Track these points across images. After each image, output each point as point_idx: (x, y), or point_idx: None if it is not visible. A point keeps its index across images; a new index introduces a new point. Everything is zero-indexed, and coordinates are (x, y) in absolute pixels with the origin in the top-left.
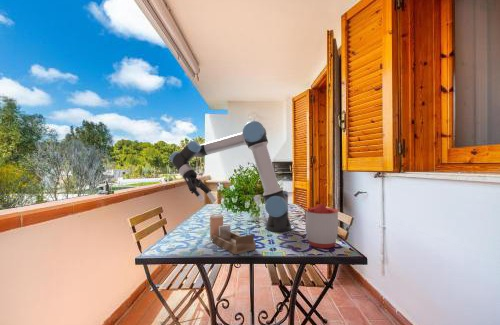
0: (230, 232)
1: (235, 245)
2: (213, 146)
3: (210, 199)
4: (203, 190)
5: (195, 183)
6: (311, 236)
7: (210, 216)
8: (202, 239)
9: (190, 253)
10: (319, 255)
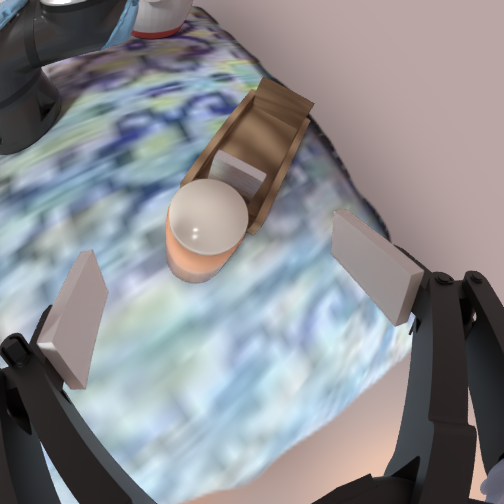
0: (192, 180)
1: (304, 121)
2: None
3: (99, 319)
4: (99, 442)
5: (438, 418)
6: (183, 17)
7: (238, 241)
8: (247, 292)
9: None
10: (217, 30)
